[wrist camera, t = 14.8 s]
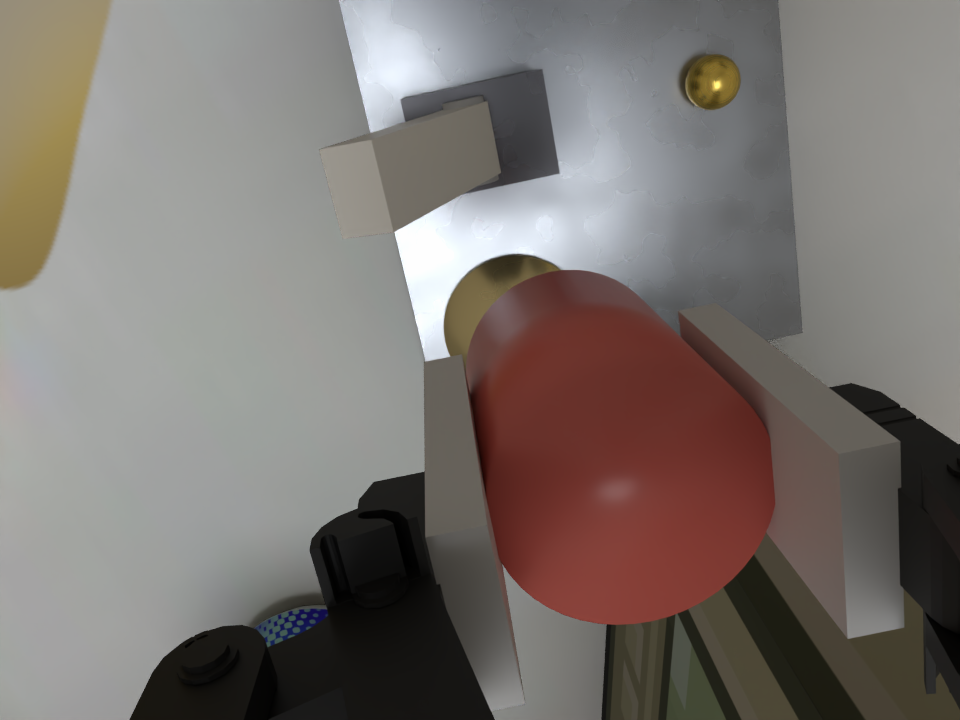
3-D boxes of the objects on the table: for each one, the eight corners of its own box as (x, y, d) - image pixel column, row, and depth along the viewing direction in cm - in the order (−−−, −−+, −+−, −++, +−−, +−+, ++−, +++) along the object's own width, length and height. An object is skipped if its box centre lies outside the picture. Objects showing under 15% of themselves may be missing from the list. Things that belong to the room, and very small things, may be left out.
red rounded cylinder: (447, 293, 17) (458, 395, 12) (652, 250, 17) (765, 331, 12) (487, 478, 19) (514, 649, 13) (676, 438, 19) (787, 593, 13)
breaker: (449, 101, 28) (316, 141, 21) (491, 93, 28) (369, 131, 21) (466, 181, 29) (344, 246, 22) (507, 175, 29) (395, 239, 22)
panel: (290, -219, 29) (264, -275, 25) (731, -317, 29) (790, -392, 24) (437, 392, 37) (438, 439, 33) (783, 319, 37) (834, 355, 32)
